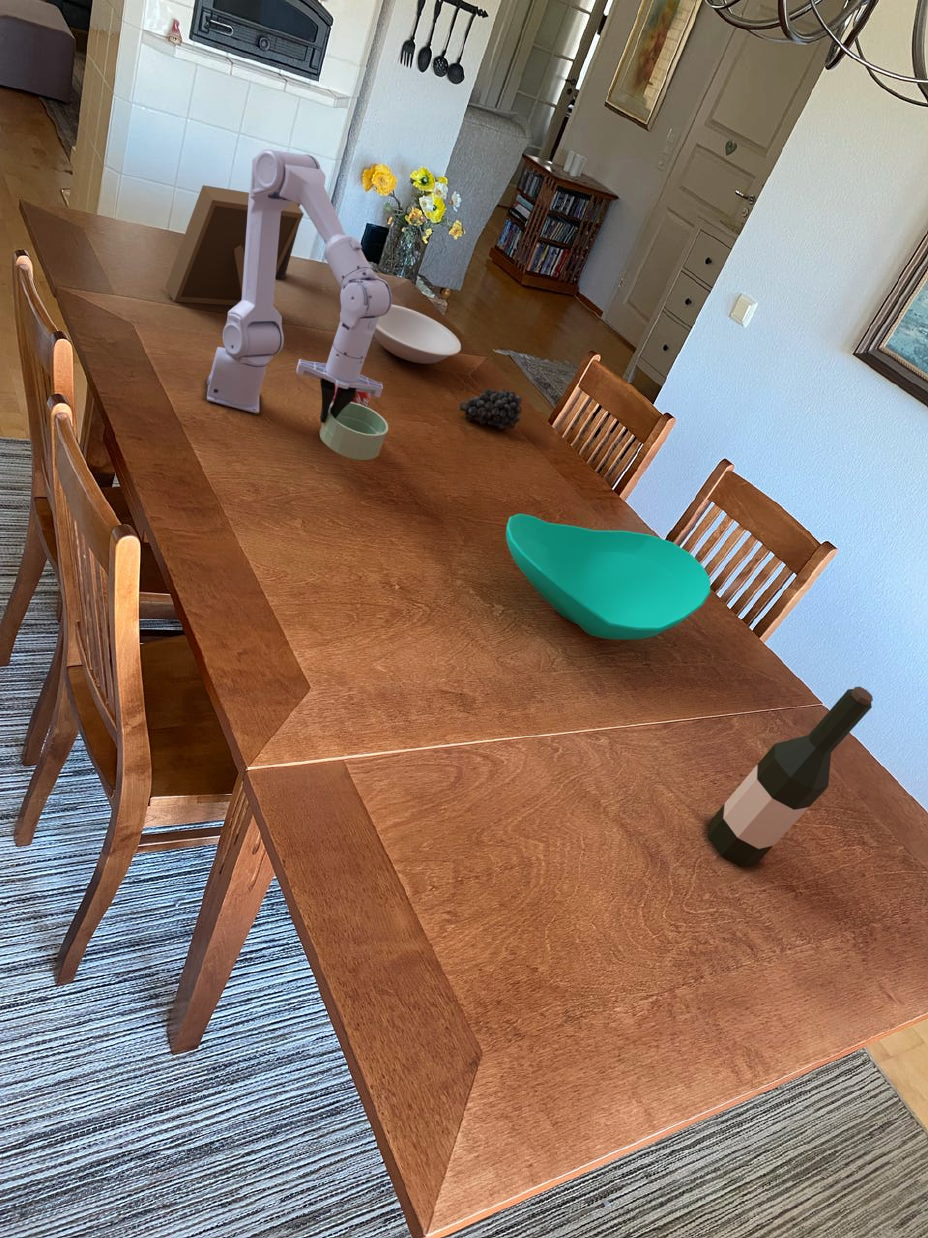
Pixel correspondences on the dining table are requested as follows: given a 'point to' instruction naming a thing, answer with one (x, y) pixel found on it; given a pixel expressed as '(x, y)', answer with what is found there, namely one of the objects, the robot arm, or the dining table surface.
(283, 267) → the vinegar
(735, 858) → the wine bottle
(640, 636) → the table top decor
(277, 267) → the photo frame
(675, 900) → the dining table surface
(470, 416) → the fruit
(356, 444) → the bowl
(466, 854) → the dining table surface
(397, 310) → the soup bowl
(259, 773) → the dining table surface
